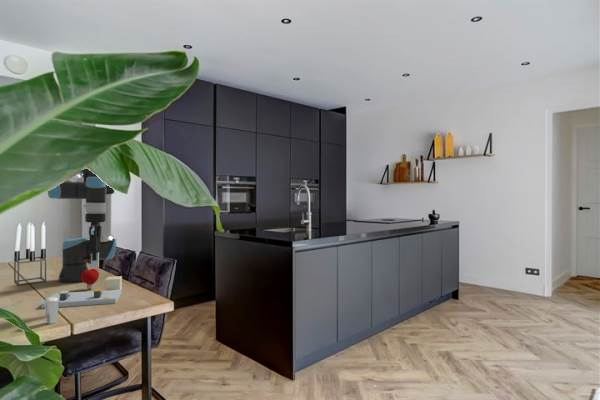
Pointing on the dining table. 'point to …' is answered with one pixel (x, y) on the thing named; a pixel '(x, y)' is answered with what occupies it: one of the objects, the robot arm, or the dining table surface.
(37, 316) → the dining table surface
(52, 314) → the milkshake
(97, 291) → the breaker
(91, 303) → the panel
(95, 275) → the light bulb
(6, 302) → the dining table surface
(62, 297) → the breaker
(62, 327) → the dining table surface
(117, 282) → the cap
